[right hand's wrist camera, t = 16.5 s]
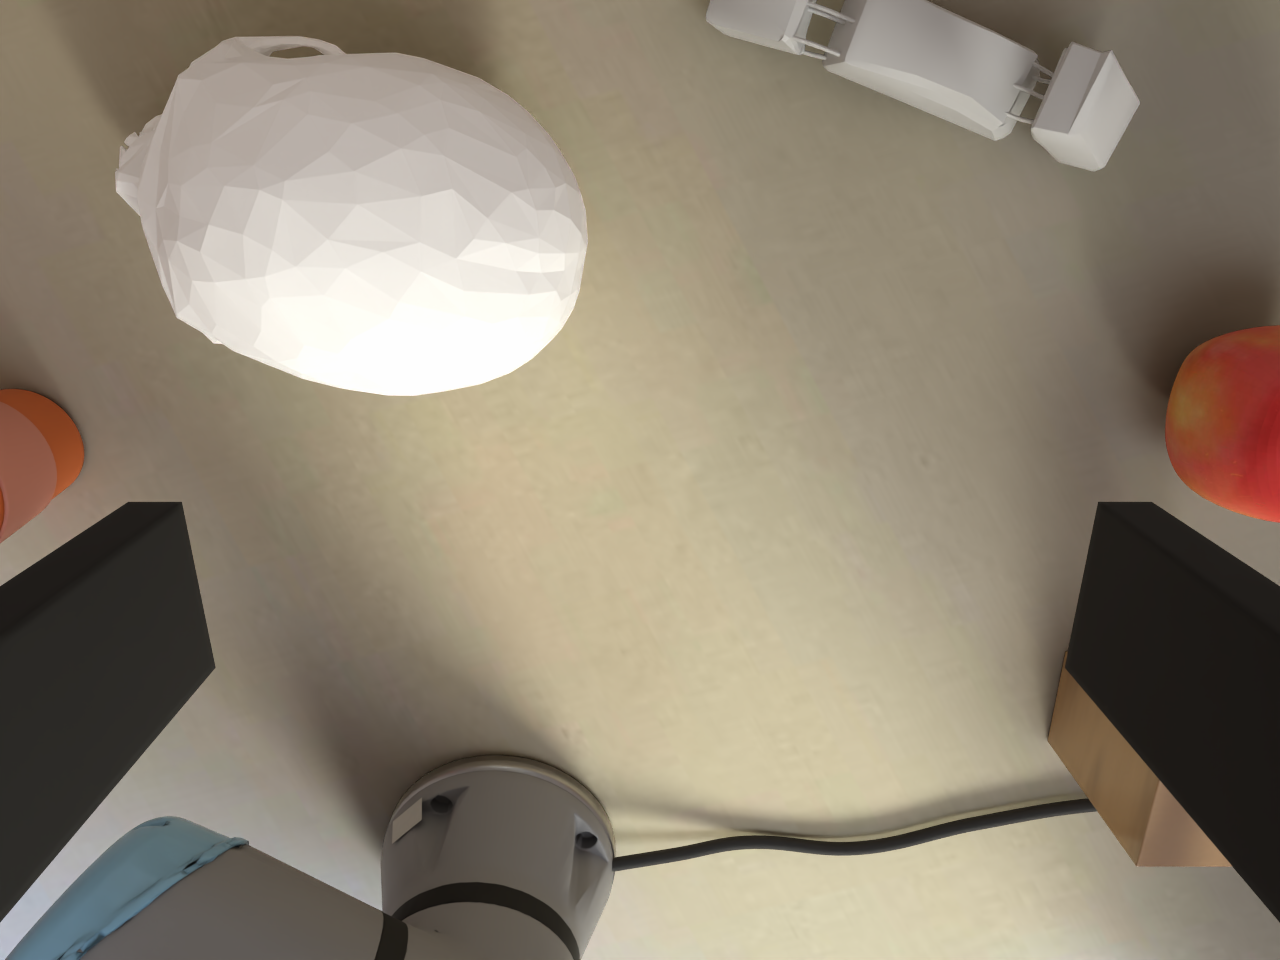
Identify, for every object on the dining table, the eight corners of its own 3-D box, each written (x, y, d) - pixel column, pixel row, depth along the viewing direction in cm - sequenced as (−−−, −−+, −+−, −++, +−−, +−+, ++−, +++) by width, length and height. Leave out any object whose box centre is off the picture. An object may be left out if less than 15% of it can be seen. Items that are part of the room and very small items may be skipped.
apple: (1222, 502, 48) (1362, 584, 39) (1085, 432, 47) (1197, 499, 37) (1340, 352, 45) (1524, 401, 36) (1198, 272, 44) (1350, 301, 34)
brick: (1159, 650, 52) (1279, 763, 42) (1136, 740, 54) (1245, 867, 44) (1065, 650, 52) (1163, 763, 42) (1046, 741, 54) (1136, 867, 44)
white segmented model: (1126, 98, 40) (1204, 78, 34) (1087, 177, 42) (1155, 172, 35) (732, -48, 40) (734, -96, 34) (704, 36, 41) (701, 5, 35)
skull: (141, 26, 40) (-152, -36, 25) (607, 91, 41) (587, 68, 26) (165, 308, 45) (-67, 394, 30) (579, 360, 46) (550, 467, 31)
